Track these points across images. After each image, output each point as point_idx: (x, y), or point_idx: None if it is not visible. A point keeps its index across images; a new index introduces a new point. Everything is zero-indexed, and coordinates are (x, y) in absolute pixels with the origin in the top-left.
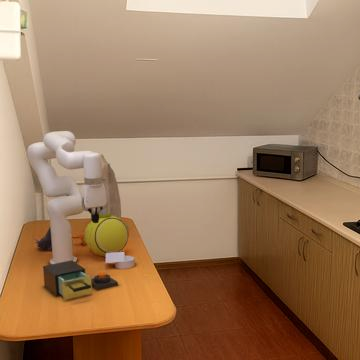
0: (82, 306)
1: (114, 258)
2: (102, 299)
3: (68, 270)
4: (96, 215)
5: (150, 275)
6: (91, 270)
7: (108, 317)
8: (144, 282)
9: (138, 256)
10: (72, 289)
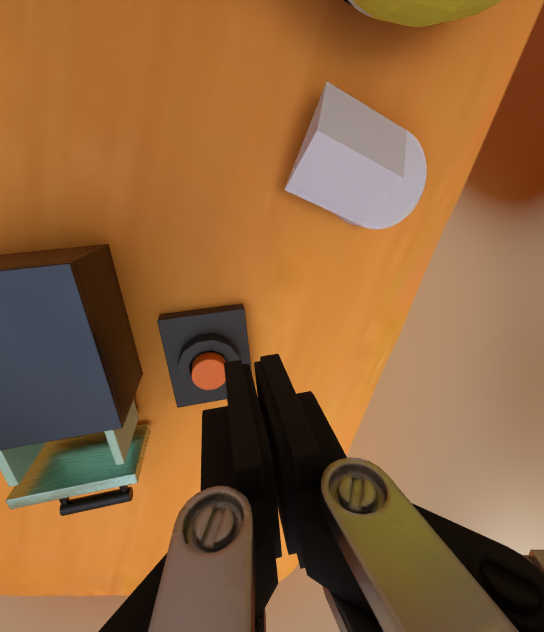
0: (105, 490)
1: (335, 188)
2: (174, 465)
3: (35, 422)
4: (285, 537)
5: (379, 346)
6: (216, 152)
7: (159, 560)
8: (333, 394)
9: (478, 77)
10: (61, 499)
